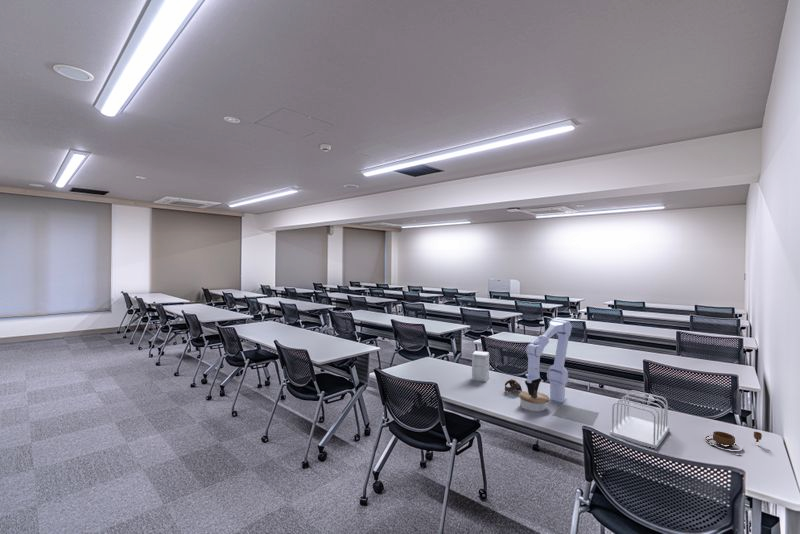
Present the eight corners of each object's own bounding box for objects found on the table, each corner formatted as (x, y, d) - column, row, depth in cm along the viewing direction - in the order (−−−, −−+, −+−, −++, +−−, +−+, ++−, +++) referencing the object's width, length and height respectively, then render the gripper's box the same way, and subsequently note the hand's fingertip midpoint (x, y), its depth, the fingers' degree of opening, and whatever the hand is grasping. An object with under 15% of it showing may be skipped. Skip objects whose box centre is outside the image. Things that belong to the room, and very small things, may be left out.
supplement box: (489, 377, 240) (489, 352, 240) (486, 382, 232) (487, 355, 232) (474, 375, 244) (475, 350, 244) (471, 379, 236) (471, 353, 236)
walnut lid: (527, 390, 204) (527, 383, 204) (554, 398, 193) (554, 391, 193) (513, 397, 193) (513, 390, 193) (541, 405, 183) (541, 398, 182)
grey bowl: (525, 400, 202) (525, 391, 202) (547, 406, 195) (548, 397, 195) (517, 407, 192) (517, 398, 192) (541, 413, 185) (541, 404, 185)
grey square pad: (561, 404, 197) (561, 404, 197) (599, 413, 187) (599, 412, 187) (552, 415, 183) (552, 415, 183) (592, 426, 172) (592, 425, 172)
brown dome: (525, 396, 210) (520, 385, 208) (510, 402, 212) (504, 391, 210) (520, 384, 222) (514, 373, 220) (505, 389, 223) (500, 379, 221)
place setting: (700, 434, 167) (701, 421, 167) (759, 445, 158) (760, 431, 158) (710, 451, 152) (711, 437, 152) (777, 465, 142) (777, 450, 142)
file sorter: (626, 419, 181) (627, 387, 181) (669, 431, 169) (670, 397, 168) (609, 435, 164) (610, 400, 163) (656, 450, 151) (657, 412, 151)
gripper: (530, 362, 201) (529, 387, 202) (521, 369, 190) (520, 395, 190) (543, 365, 197) (543, 390, 197) (535, 371, 185) (534, 398, 186)
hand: (533, 393), depth 193 cm, fingers open, 6 cm apart
